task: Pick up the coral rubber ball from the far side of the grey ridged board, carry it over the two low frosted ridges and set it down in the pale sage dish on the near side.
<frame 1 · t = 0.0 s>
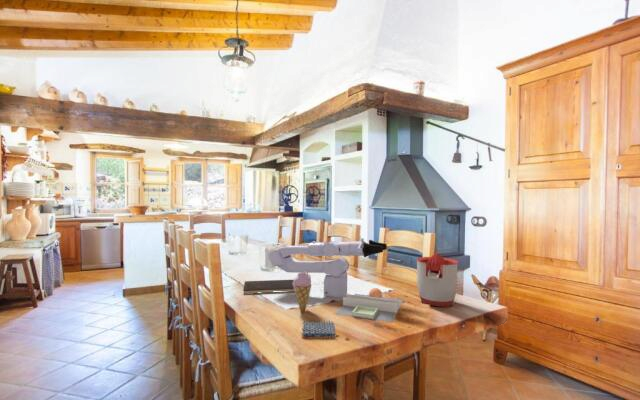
hand: (384, 247, 127), 22 cm above the table, tool horizontal, fingers open, 7 cm apart
grey ridged board: (371, 308, 120), on the table
hardcover book: (269, 289, 147), on the table
ball: (375, 294, 127), point 3 cm above the table, touching grey ridged board
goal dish: (365, 313, 112), resting on grey ridged board
woven mat: (318, 333, 99), on the table
citrus juicer: (436, 303, 128), on the table
ice cream cone: (301, 313, 116), on the table
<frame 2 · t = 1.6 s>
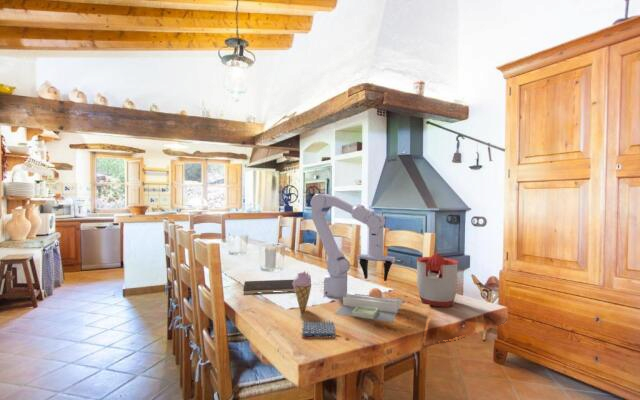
hand: (375, 279, 127), 9 cm above the table, tool pointing down, fingers open, 7 cm apart
nothing on the table moved.
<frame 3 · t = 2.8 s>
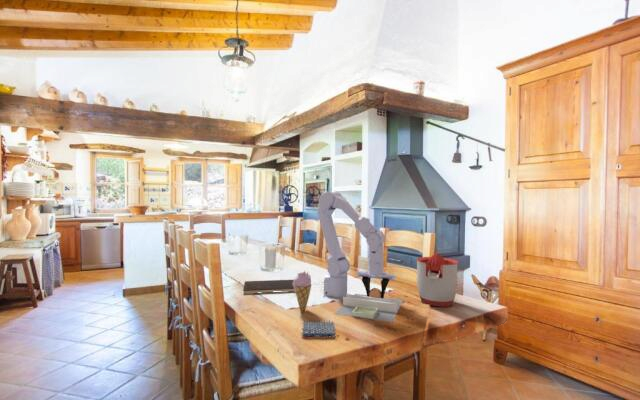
hand: (375, 296, 127), 3 cm above the table, tool pointing down, fingers closed on ball, 5 cm apart
ball: (375, 294, 127), point 3 cm above the table, touching grey ridged board, gripper
everything else where it was.
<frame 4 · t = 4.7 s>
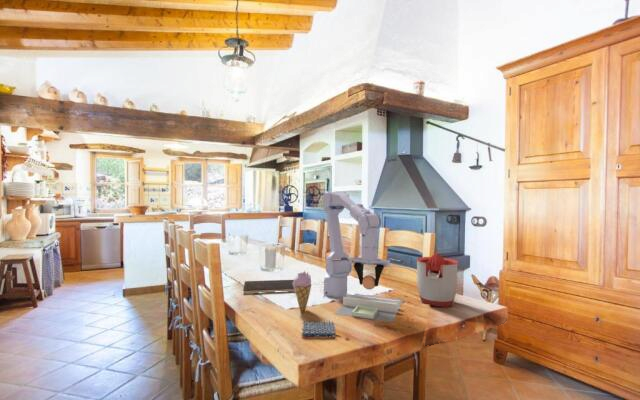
hand: (369, 284, 116), 10 cm above the table, tool pointing down, fingers closed on ball, 5 cm apart
ball: (369, 282, 116), point 11 cm above the table, touching gripper
everything else where it was.
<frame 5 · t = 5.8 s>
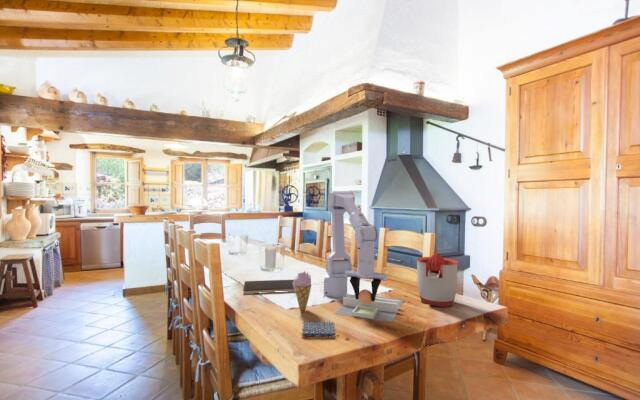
hand: (365, 299, 112), 6 cm above the table, tool pointing down, fingers closed on ball, 5 cm apart
ball: (365, 296, 112), point 7 cm above the table, touching gripper
everything else where it was.
when the fingers open (4 cm above the table, at t = 6.7 s): ball stays where it is, resting on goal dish.
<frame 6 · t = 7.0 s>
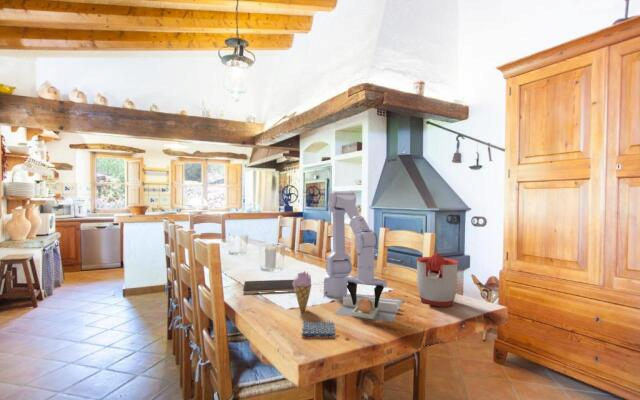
hand: (365, 305, 112), 4 cm above the table, tool pointing down, fingers open, 7 cm apart
ball: (365, 305, 112), point 4 cm above the table, touching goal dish
everything else where it was.
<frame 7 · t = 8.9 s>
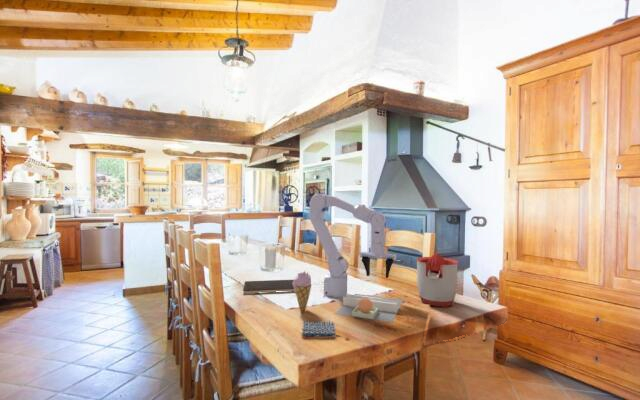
hand: (377, 276, 130), 10 cm above the table, tool pointing down, fingers open, 7 cm apart
nothing on the table moved.
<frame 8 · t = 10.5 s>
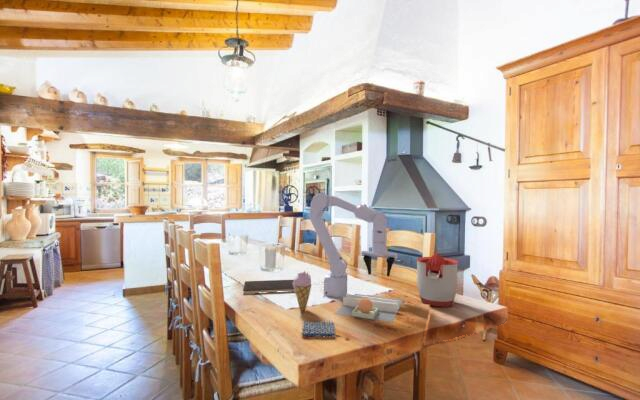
hand: (378, 274, 132), 10 cm above the table, tool pointing down, fingers open, 7 cm apart
nothing on the table moved.
at the end: ball 0.0 cm off-centre on the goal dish, point 2.9 cm above the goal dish's base; the gripper is holding nothing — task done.
